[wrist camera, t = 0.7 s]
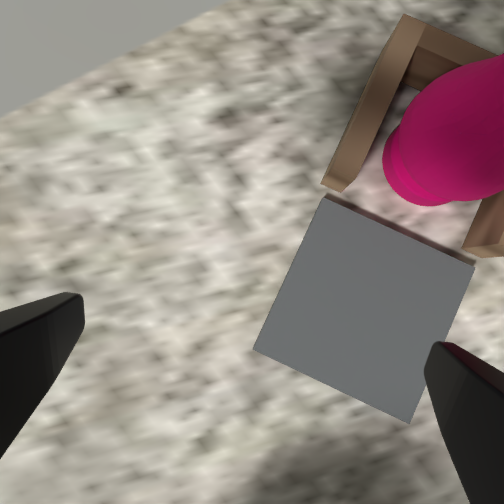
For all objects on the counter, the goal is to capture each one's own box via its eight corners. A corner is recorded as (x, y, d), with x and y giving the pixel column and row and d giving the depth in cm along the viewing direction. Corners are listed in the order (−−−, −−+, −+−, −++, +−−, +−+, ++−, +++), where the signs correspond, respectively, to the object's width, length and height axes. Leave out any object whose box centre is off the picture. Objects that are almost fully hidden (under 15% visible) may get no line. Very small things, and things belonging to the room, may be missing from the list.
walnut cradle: (481, 258, 24) (522, 254, 20) (320, 183, 24) (332, 167, 20) (539, 121, 24) (588, 95, 21) (382, 51, 25) (403, 13, 21)
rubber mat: (405, 420, 23) (409, 424, 22) (253, 347, 23) (253, 349, 22) (469, 267, 24) (475, 267, 23) (321, 199, 24) (323, 197, 23)
